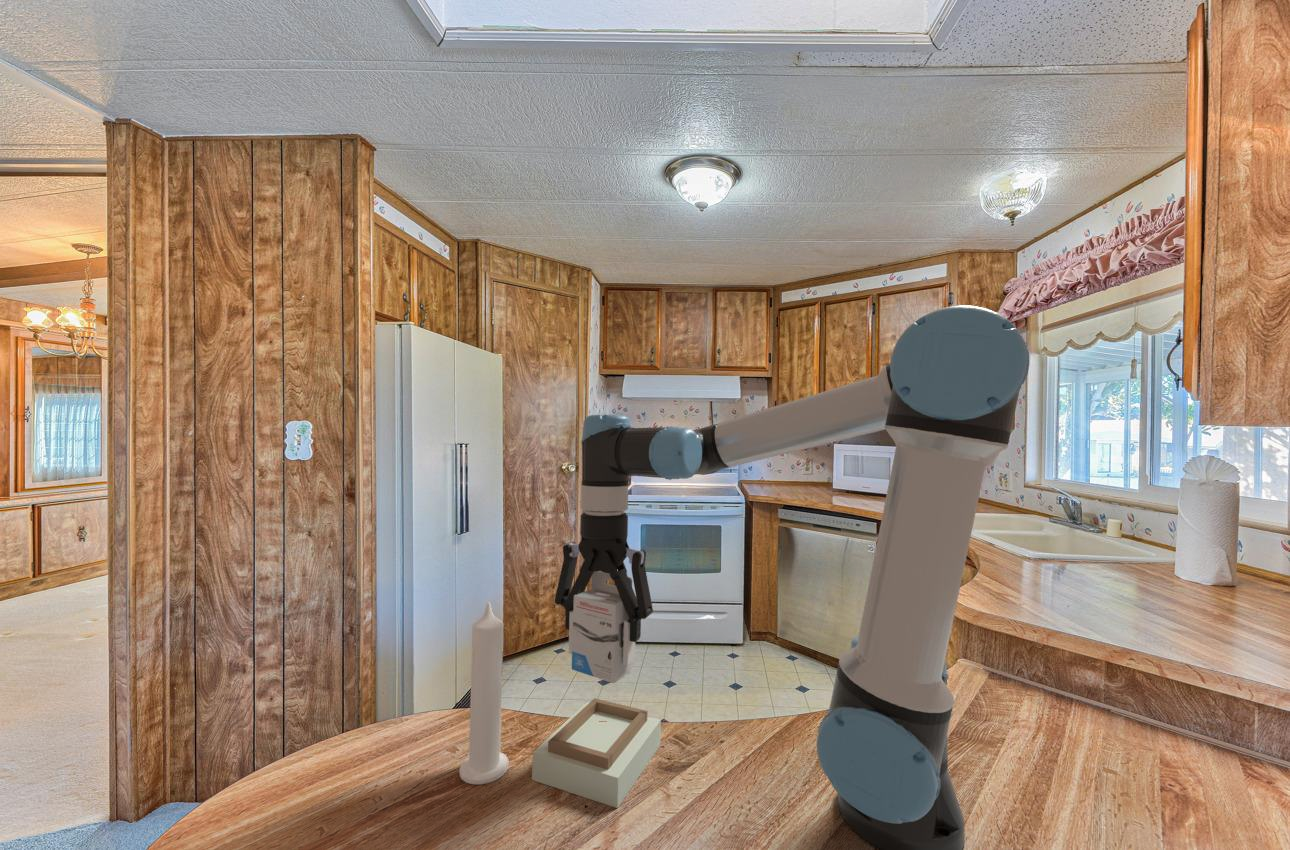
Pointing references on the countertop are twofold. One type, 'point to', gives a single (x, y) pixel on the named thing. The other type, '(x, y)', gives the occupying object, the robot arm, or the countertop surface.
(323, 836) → the countertop surface
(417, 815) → the countertop surface
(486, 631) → the candle
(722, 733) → the countertop surface
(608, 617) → the ink box
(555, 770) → the display stand
